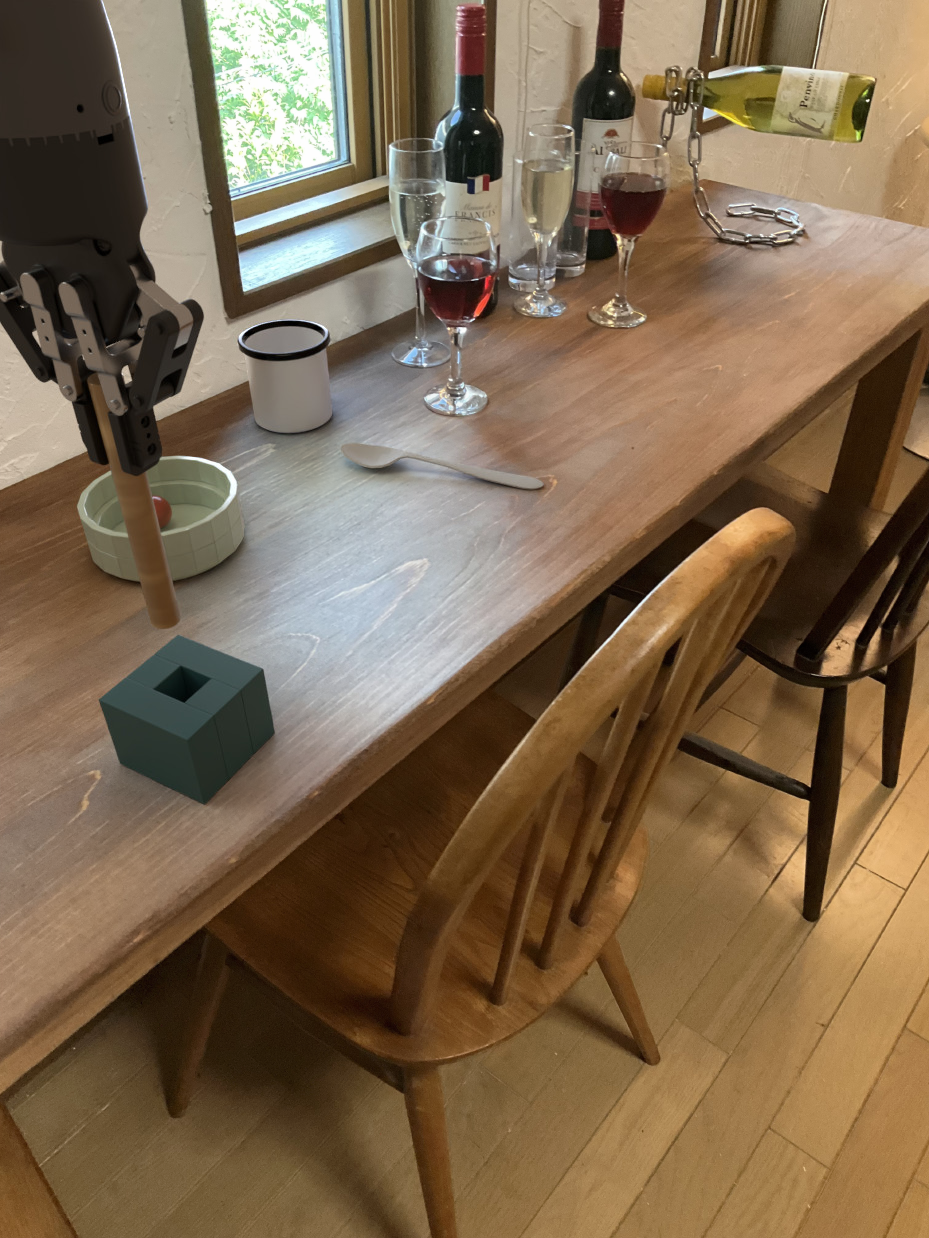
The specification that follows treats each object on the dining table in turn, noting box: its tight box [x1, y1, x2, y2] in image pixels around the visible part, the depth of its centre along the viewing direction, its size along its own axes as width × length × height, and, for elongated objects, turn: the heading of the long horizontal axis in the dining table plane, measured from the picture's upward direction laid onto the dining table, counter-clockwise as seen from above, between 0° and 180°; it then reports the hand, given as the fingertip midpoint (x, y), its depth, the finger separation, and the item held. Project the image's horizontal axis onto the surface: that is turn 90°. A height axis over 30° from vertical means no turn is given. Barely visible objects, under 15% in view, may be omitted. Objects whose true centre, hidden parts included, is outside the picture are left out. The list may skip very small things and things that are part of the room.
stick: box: [87, 373, 182, 630], centre depth 54 cm, size 2×2×16 cm
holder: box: [98, 634, 276, 805], centre depth 64 cm, size 7×7×6 cm
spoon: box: [340, 442, 544, 491], centre depth 94 cm, size 4×21×2 cm, turn 75°
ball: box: [152, 495, 172, 528], centre depth 85 cm, size 3×3×3 cm
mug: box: [236, 318, 333, 434], centre depth 102 cm, size 12×10×9 cm
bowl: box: [76, 455, 246, 583], centre depth 84 cm, size 13×13×5 cm
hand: (126, 462), depth 52 cm, fingers closed on stick, 2 cm apart
